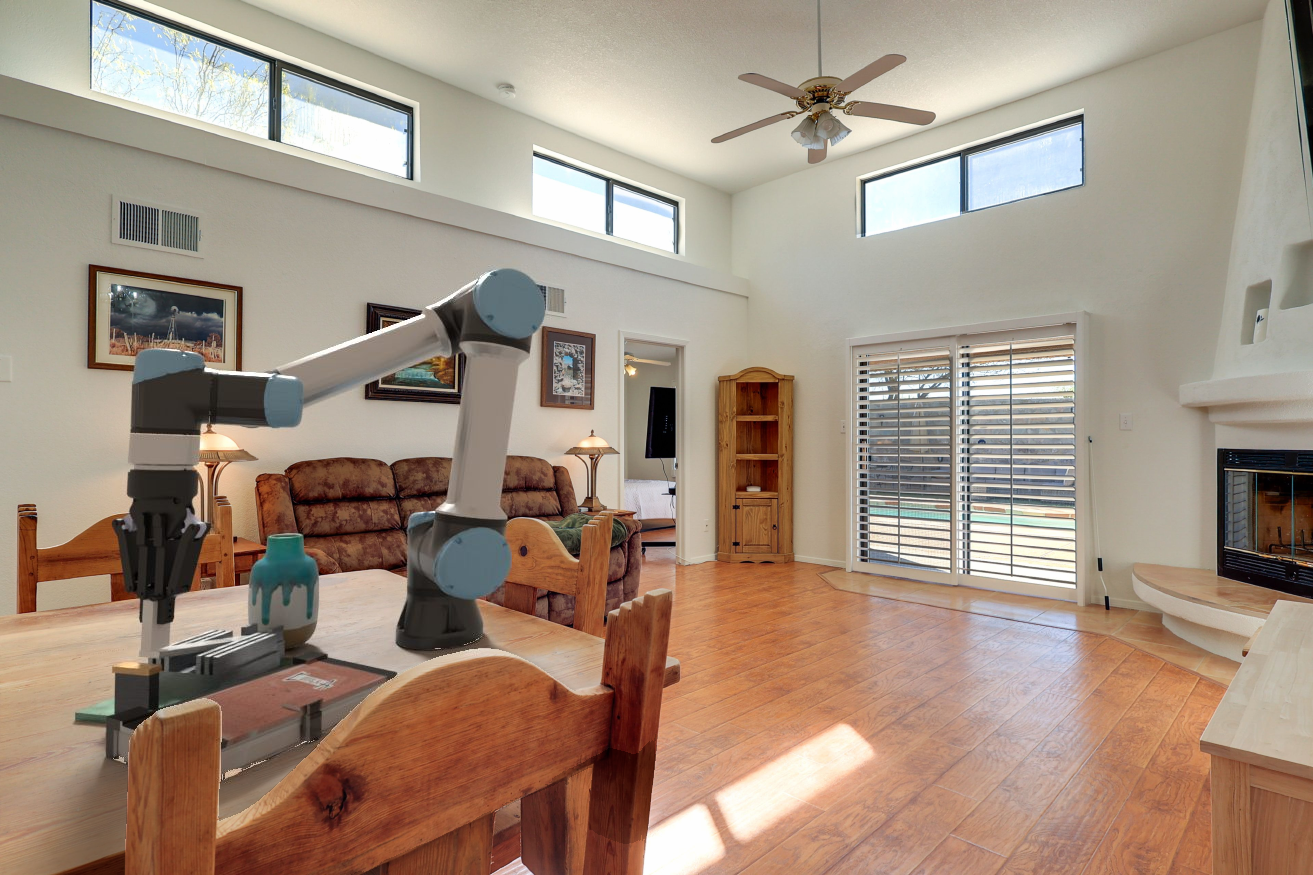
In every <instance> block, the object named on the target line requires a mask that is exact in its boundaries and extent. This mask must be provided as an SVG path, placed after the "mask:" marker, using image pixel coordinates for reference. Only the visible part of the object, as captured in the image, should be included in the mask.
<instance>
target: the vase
mask: <svg viewBox="0 0 1313 875" xmlns="http://www.w3.org/2000/svg"><path fill="white" fill-rule="evenodd" d="M266 540H267V541H266V548H265V549H266V551H265V554H264V556H262V558H261V559H259V560H256V562H255V563H254V564H253V566H252V567H251V570H250V574H249V580H248V581H249V582H248V593H247V594H248V597H247V617H248V619H247V620H248V624H251V623H258V633H262V634H264V633H267V629H268V628H271V627H274V626H276V625H284V626H283V640H285V649H284V650H288V649H292V648H296V647H298V646H302V645H303V644H305V643H306V642H308V641H309V640H310V639H311V638H312V637H313V635H314V633H315V631H316V628H317V626H318V625H317V624H318V620H319V619H318V618H319V617H318V616H319V607H320V576H319V568H318V567H319V566H318V563H317V562H316V560H315V559H314V558H313V557H312V556H309V555H308V554H306V551H305V546H304V545H305V544H304V535H303V534H302V533H280V534H279V533H278V534H271V535H269V536H267V539H266Z"/></svg>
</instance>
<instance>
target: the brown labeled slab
mask: <svg viewBox="0 0 1313 875" xmlns="http://www.w3.org/2000/svg"><path fill="white" fill-rule="evenodd" d="M292 658H293V664H292V665H289V666H286V667H283V668H280V669H277V670H274V671H271V672H268V673H265V674H261V675H258V676H255V677H252V678H249V679H246V680H243V681H240V682H237V683H234V684H231V685H228V686H225V687H222V688H219V689H216V690H213V691H210V692H207V693H204V694H201V695H198V696H195V697H191V698H188V699H185V700H182V701H179V702H176V703H173V704H170V705H167V706H164V707H161V708H158V709H155V710H150V709H147V708H143V707H140V706H138V707H135V708H132V709H129V710H125V711H122V712H119V713H116V714H113V715H110V716H107V717H106V724H105V725H106V727H105V758H106V759H107V758H108V759H110V758H111V759H110V760H112V759H113V758H114V759H119V756H120V757H122V758H123V757H124V762H126V764H125V765H126V766H128V752H129V740H130V737H131V735H132V734H133V733H134V731H135V729H136V728H137V726H138V725H139V724H141V723H142V722H143V721H144V720H146V719H147V718H149V717H150V716H152V715H153V714H154V713H155V712H156V711H158V710H160V709H163V708H166V707H170V706H174V705H179V704H183V703H185V702H189V701H192V700H196V699H202V698H207V699H211V700H213V701H215V702H217V703H218V704H219V705H220V706H221V711H222V742H221V782H220V783H222V782H223V781H222V774H223V780H224V779H225V773H226V772H228V770H229V771H230V770H233V769H238V768H242V769H241V770H243V769H246V768H248V767H250V766H251V765H253V763H254V764H256V762H257V763H258V762H261V761H264V760H268V759H270V760H272V759H274V758H276V757H278V756H277V755H279V756H280V754H281V755H283V754H286V753H287V752H289V751H288V750H290V749H292V748H294V747H295V746H297V745H299V744H301V743H302V742H304V741H307V742H309V741H310V742H311V741H313V740H315V741H314V742H317V741H318V740H319V739H320V738H322V736H326V735H327V734H329V733H331V732H332V731H331V730H332V729H333V728H334V727H335V726H336V725H337V724H338V723H339V722H340V721H341V720H342V719H344V718H345V717H346V716H347V715H348V714H349V713H350V711H352V710H353V709H354V708H355V707H356V706H357V705H358V704H360V702H362V701H363V700H364V699H365V698H366V697H367V696H368V695H369V694H371V693H372V692H373V691H375V690H376V689H377V688H378V687H380V686H381V685H382V684H384V683H385V682H387V681H388V680H390V679H392V678H394V677H395V676H396V675H397V676H398V671H395V670H394V671H393V670H389V669H386V668H385V669H384V668H380V667H376V666H372V665H371V666H370V665H366V664H361V663H356V662H352V661H348V660H347V661H346V660H342V659H338V658H333V657H329V656H328V653H324V652H320V651H316V650H311V651H308V652H305V653H301V654H299V655H296V656H295V655H294V656H293V657H292ZM394 679H395V678H394ZM392 680H393V679H392ZM330 731H331V732H330ZM294 749H295V748H294ZM292 750H293V749H292ZM286 751H287V752H286ZM290 751H291V750H290ZM271 758H272V759H271ZM268 761H269V760H268ZM251 763H252V764H251ZM224 781H225V780H224Z"/></svg>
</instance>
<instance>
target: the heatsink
mask: <svg viewBox="0 0 1313 875" xmlns="http://www.w3.org/2000/svg"><path fill="white" fill-rule="evenodd" d="M283 626H284V625H276V626H274V627H271V628H268V629H267V633H264V634H262V633H258V623H251V624H249V623H248V624H246V625H244V626H243V625H242V626H241V627H240V636H245V635H250V636H247V637H245V638H242V639H239V640H237V641H234V642H231V643H229V644H226V645H223V646H221V647H218V648H215V649H213V650H209V651H202V652H196V653H190V654H183V655H177V656H171V657H165V658H147V659H148V660H147V663H146V662H145V663H144V662H137V661H136V662H135V661H123V662H120V663H118V664H115V665H113V666H112V667H111V670H112V671H111V673H112V674H114V696H113V697H112V698H108V699H106V700H103V701H101V702H99V703H96V704H94V705H90V706H88V707H86V708H84V709H80V710H78V711H75V712H74V721H79V722H88V723H96V724H97V723H99V724H104V725H106V717H107V716H110V715H113V714H116V713H119V712H122V711H125V710H129V709H132V708H135V707H138V706H140V707H143V708H147V709H150V710H155V709H158V708H161V707H164V706H167V705H170V704H173V703H176V702H179V701H182V700H185V699H188V698H191V697H195V696H198V695H201V694H204V693H207V692H210V691H213V690H216V689H219V688H222V687H225V686H228V685H231V684H234V683H237V682H240V681H243V680H246V679H249V678H252V677H255V676H258V675H261V674H265V673H268V672H271V671H274V670H277V669H280V668H283V667H286V666H289V665H292V664H293V657H285V650H286V649H285V640H283ZM252 634H253V635H252ZM231 637H234V631H233V630H226V629H215V628H214V629H211V630H208V631H206V632H201V633H200V634H196V635H194V636H190V637H187V638H185V639H182V640H179V641H176V642H173V643H169V646H174V645H181V644H188V643H195V642H202V641H210V640H217V639H224V638H231Z"/></svg>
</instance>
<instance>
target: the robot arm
mask: <svg viewBox="0 0 1313 875" xmlns="http://www.w3.org/2000/svg"><path fill="white" fill-rule="evenodd" d="M545 316H546V301H545V298H544V294H543V292H542V290H541V288H539V286H538V285H537V283H536V281H534V279H533V278H531V277H530V275H528V274H526V273H525V272H523V271H521V270H518V269H514V268H510V267H501V268H498V269H493V270H487V271H486V272H485V273H483V274H481V275H480V276H479V277H478V278H477V279H475V280H473V281H470V283H467V284H466V285H464V286H463V287H461V288H460V289H459V290H457V291H455V292H454V293H453V294H451V295H449V296H447V297H446V298H444V299H442V300H440V301H438V302H436V303H433V304H431V305H428V306H426V307H424V308H423V309H422V311H421V314H420V315H417V316H415V317H411V318H410V319H407V320H404V321H401V322H398V323H395V324H392V325H390V326H388V327H384V328H382V329H380V330H377V331H373V332H372V333H368V334H366V335H363V336H359V337H357V338H355V339H352V340H349V341H346V342H343V343H342V344H338V345H336V346H333V347H332V346H331V347H330V348H328V349H324V350H321V351H318V352H316V353H314V354H310V355H308V356H305V357H303V358H300V359H296V360H295V361H292V362H289V363H286V364H283V365H280V366H277V367H275V368H273V369H270V370H269V369H268V370H266V371H264V372H260V373H259V372H247V371H246V372H245V371H231V370H229V371H228V370H218V369H212V368H207V367H206V366H207V365H206V363H205V357H204V356H203V355H202V354H200V353H198V352H193V351H184V350H179V349H169V348H146V349H142V350H140V351H139V352H137V354H136V355H135V359H134V366H133V367H134V368H133V377H132V381H131V402H130V403H131V406H130V430H129V432H130V434H129V441H128V442H129V444H128V454H127V455H128V456H127V463H128V464H130V466H133V468H132V469H131V468H130V469H129V471H128V472H127V481H126V482H127V483H126V495H127V497H128V498H130V499H132V502H131V505H130V507H129V510H128V513H129V514H127V515H125V516H124V517H122V518H116V519H115V518H114V519H113V520H112V521H111V527H112V529H113V531H114V533H115V535H116V537H117V543H118V548H119V550H118V551H119V555H120V563H121V569H122V575H123V582H124V590H125V592H126V593H128V594H135V595H136V596H137V598H138V599H139V613H138V614H139V615H138V618H139V619H138V620H139V623H140V624H141V638H140V650H141V651H147V652H152V651H155V650H158V649H161V648H164V647H167V646H169V645H170V639H171V638H170V637H171V623H173V622H174V620H175V610H176V609H175V608H176V598H177V597H178V596H180V595H183V594H186V593H190V591H191V590H192V585H193V581H194V577H195V573H196V570H197V566H198V562H199V559H200V556H201V555H200V554H201V552H202V548H203V545H204V544H203V543H204V540H205V538H206V537H207V535H208V533H209V532H210V530H212V529H211V528H212V524H211V522H209V521H203V522H202V520H200V519H199V518H198V517H196V516H195V514H196V510H195V507H194V505H193V503H194V502H193V499H194V498H195V497H197V495H198V493H199V477H200V476H199V472H198V470H197V469H194V467H195V466H198V465H199V463H200V449H201V448H200V447H201V435H202V434H201V433H202V431H201V430H202V429H201V428H202V425H211V426H212V425H214V426H215V425H220V426H222V425H223V426H236V427H238V426H240V427H243V428H246V429H257V428H271V429H280V428H286V429H287V428H288V429H289V428H292V429H294V428H296V427H298V426H300V424H301V422H302V418H303V411H304V409H307V408H310V407H311V406H314V405H317V404H320V403H322V402H324V401H326V400H329V399H332V398H334V397H337V396H339V395H342V394H344V393H347V392H350V391H352V390H354V389H356V388H360V387H362V386H365V385H367V384H370V383H372V382H375V381H377V380H380V379H382V378H385V377H387V376H390V375H392V374H395V373H398V372H400V371H402V370H405V369H408V368H410V367H413V366H416V365H417V364H418V365H419V364H420V363H423V362H425V361H427V360H430V359H433V358H435V357H438V356H441V357H443V358H446V359H448V358H450V357H453V356H455V355H456V356H457V355H458V354H461V353H464V355H465V356H466V363H465V368H464V376H463V383H462V389H461V390H462V391H461V395H460V396H461V398H460V405H459V411H458V417H457V418H458V419H457V424H456V425H457V426H456V431H455V438H454V446H453V453H452V460H451V466H450V467H451V469H450V475H449V479H448V480H449V482H448V488H447V494H446V500H445V501H444V502H443V503H442V504H440V505H439V506H438V507H437V508H435V511H419V512H414V513H412V514H410V516H409V518H408V523H407V528H406V534H407V553H406V555H407V556H406V557H407V560H406V561H407V562H406V575H407V576H406V597H405V601H404V604H403V607H402V610H401V612H400V615H399V618H398V621H397V624H396V627H395V643H396V644H398V645H399V646H400V647H403V648H407V649H414V650H425V649H426V651H427V649H435V648H441V649H440V650H446V649H445V648H447V649H453V648H459V647H463V646H465V645H464V644H467V643H470V642H473V641H475V640H476V639H478V638H480V637H481V636H482V635H483V636H484V620H483V618H482V614H481V611H480V609H479V606H478V602H477V599H481V598H484V597H487V596H489V595H490V594H492V593H494V591H497V589H499V587H501V586H502V585H503V583H504V582H505V580H506V579H507V577H508V576H509V573H510V570H511V568H512V562H513V561H512V559H513V558H512V551H511V547H510V545H509V543H508V540H507V539H506V531H507V524H508V523H507V522H508V515H507V514H506V512H504V510H503V508H502V507H501V499H502V492H503V486H504V485H503V484H504V476H505V470H506V462H507V455H508V448H509V447H508V446H509V441H510V433H511V427H512V426H511V425H512V419H513V411H514V404H515V397H516V390H517V382H518V374H519V369H520V368H519V366H520V365H521V364H523V363H524V362H526V360H528V359H530V354H531V347H532V342H533V334H535V333H536V332H538V330H539V329H540V327H541V326H542V324H543V322H544V319H545ZM483 636H482V637H483ZM482 637H481V638H482ZM481 638H480V639H481ZM475 642H476V641H475ZM473 643H474V642H473ZM470 644H471V643H470ZM462 645H463V646H462ZM467 645H468V644H467ZM458 646H459V647H458ZM435 650H436V649H435Z"/></svg>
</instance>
